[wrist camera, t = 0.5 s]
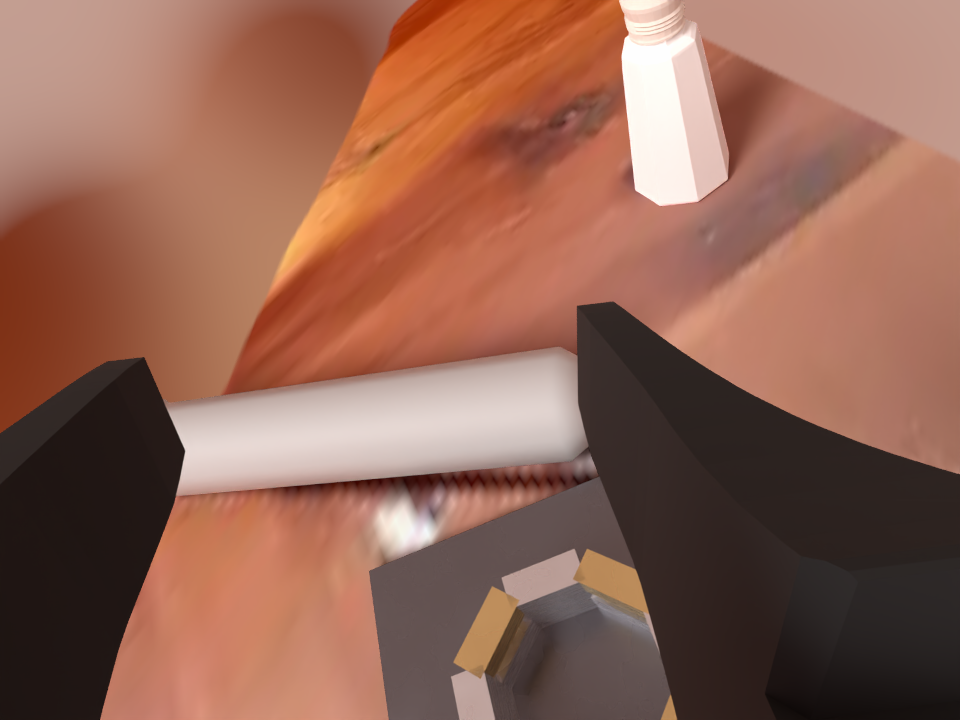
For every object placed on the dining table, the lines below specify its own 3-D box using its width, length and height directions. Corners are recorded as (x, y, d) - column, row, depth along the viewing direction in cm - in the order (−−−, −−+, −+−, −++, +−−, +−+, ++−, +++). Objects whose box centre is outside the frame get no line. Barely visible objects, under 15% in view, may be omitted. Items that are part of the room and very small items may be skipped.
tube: (594, 314, 30) (157, 383, 38) (587, 389, 26) (98, 449, 34) (617, 405, 33) (205, 451, 41) (614, 486, 29) (156, 520, 37)
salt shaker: (749, 147, 38) (734, -53, 30) (705, 216, 36) (678, 23, 28) (660, 137, 41) (625, -47, 33) (617, 199, 39) (568, 22, 31)
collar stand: (971, 907, 19) (1000, 914, 16) (443, 1066, 21) (390, 1096, 18) (708, 439, 29) (698, 395, 26) (375, 575, 31) (334, 547, 28)
